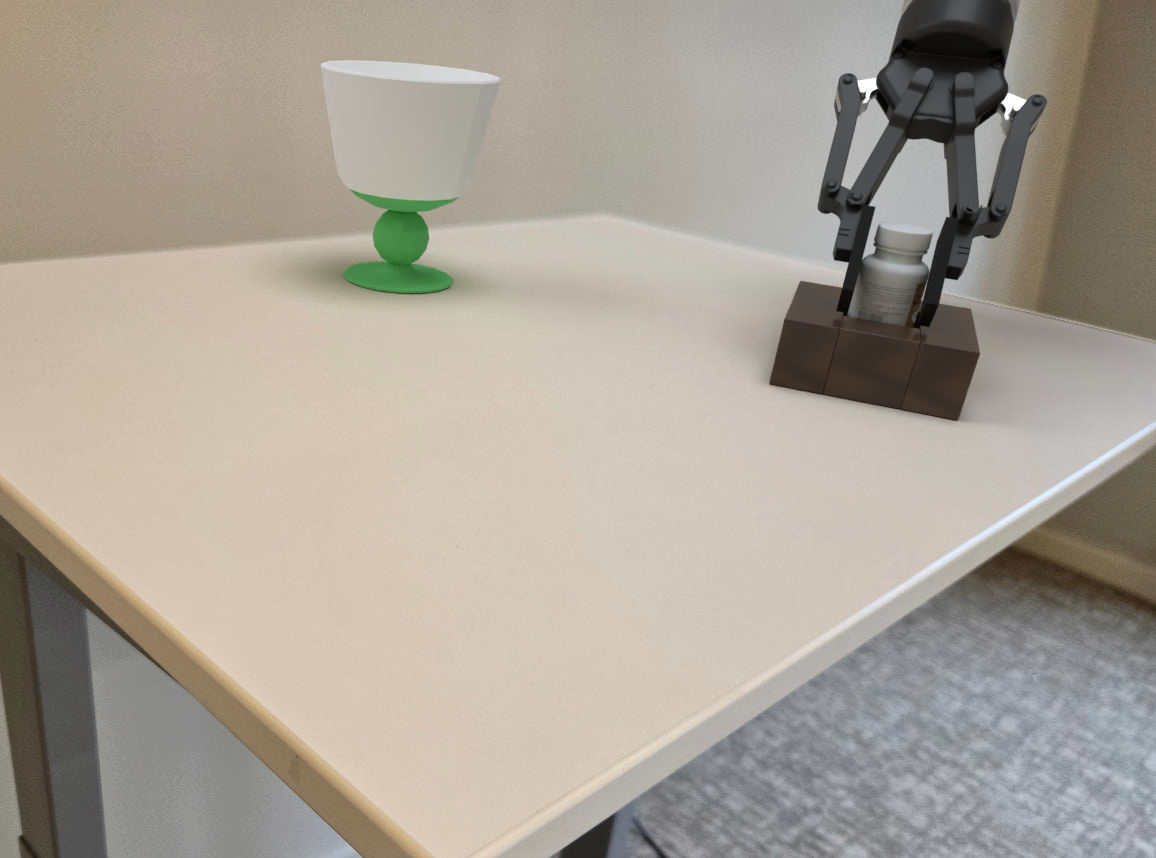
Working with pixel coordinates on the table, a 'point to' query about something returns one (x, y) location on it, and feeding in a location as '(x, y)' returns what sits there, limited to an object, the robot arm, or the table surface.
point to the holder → (876, 355)
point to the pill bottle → (893, 275)
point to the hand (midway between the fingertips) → (886, 307)
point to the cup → (405, 154)
